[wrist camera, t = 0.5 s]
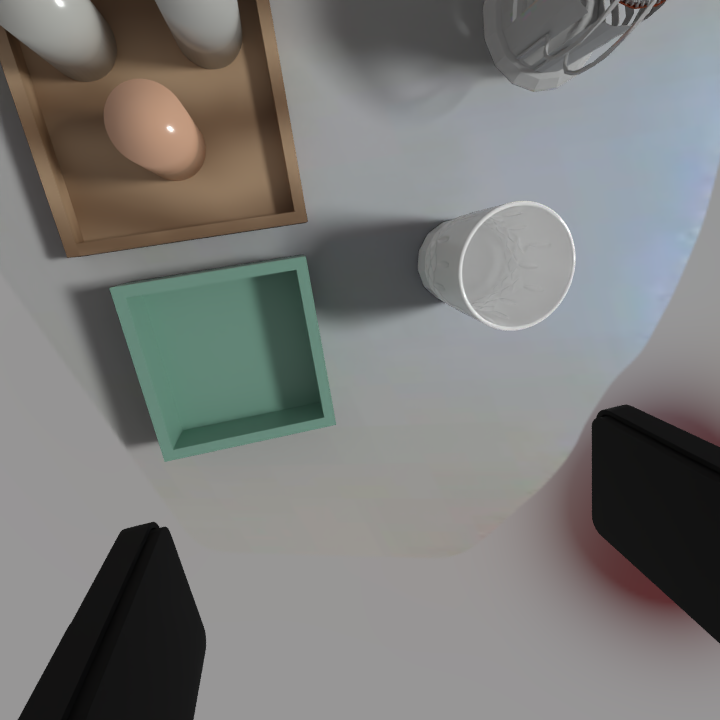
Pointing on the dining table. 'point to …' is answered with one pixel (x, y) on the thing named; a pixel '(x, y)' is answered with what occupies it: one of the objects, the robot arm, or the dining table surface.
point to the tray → (135, 183)
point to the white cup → (500, 264)
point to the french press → (554, 36)
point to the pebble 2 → (205, 30)
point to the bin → (227, 354)
